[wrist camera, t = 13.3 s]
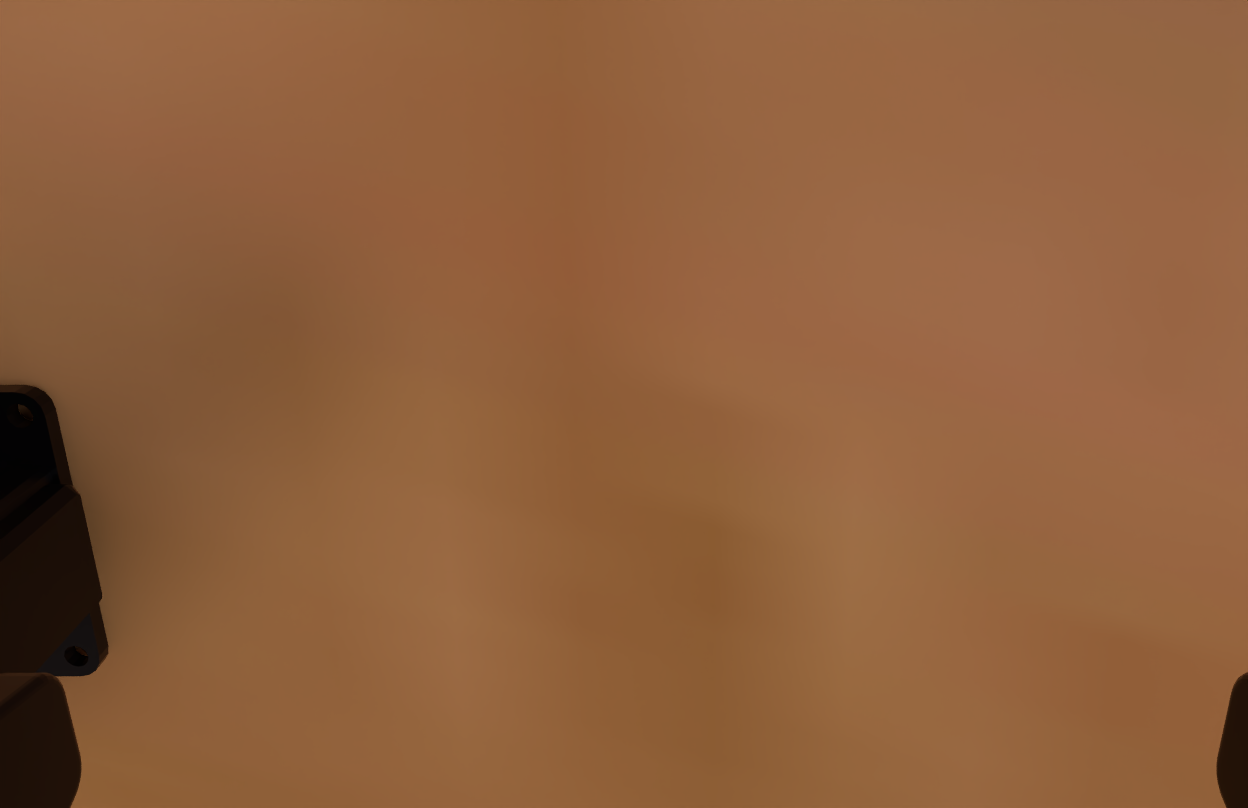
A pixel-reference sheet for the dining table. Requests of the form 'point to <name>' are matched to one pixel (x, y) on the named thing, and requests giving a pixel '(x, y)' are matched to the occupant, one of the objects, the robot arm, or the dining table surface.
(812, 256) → the dining table surface
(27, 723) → the robot arm
